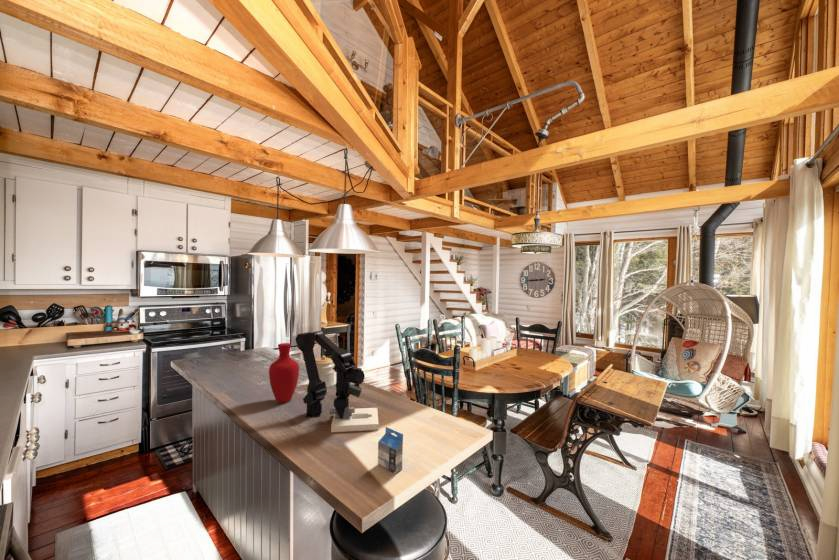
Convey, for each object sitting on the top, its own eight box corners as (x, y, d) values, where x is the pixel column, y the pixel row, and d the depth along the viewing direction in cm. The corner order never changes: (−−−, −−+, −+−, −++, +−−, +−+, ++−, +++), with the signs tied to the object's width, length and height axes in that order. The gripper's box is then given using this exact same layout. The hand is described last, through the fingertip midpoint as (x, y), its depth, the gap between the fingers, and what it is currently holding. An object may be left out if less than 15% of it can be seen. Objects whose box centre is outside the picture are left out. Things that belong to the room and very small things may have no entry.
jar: (310, 382, 209) (311, 354, 209) (332, 380, 215) (332, 352, 214) (313, 389, 197) (314, 359, 197) (336, 386, 203) (336, 357, 203)
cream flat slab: (331, 432, 144) (331, 426, 144) (334, 414, 162) (335, 409, 162) (378, 429, 148) (378, 423, 148) (377, 412, 165) (377, 407, 165)
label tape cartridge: (377, 464, 121) (377, 430, 120) (384, 460, 124) (385, 426, 124) (395, 474, 115) (395, 438, 115) (403, 469, 118) (403, 434, 118)
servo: (329, 419, 151) (329, 406, 151) (330, 415, 155) (330, 402, 155) (354, 418, 153) (354, 404, 153) (354, 414, 157) (354, 401, 157)
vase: (274, 408, 168) (274, 348, 168) (264, 400, 179) (265, 343, 179) (303, 401, 178) (303, 344, 178) (292, 394, 189) (293, 340, 189)
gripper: (360, 386, 146) (359, 422, 146) (361, 373, 164) (360, 405, 164) (333, 387, 144) (333, 424, 144) (337, 374, 162) (337, 406, 163)
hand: (342, 414), depth 154 cm, fingers open, 9 cm apart
